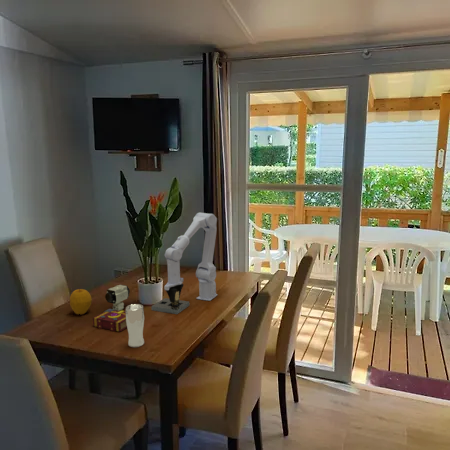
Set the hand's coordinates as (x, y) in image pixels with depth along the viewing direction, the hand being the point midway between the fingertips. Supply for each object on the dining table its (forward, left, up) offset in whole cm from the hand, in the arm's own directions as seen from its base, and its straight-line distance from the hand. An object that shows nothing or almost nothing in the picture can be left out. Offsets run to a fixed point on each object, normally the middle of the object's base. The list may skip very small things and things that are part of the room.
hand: (174, 300), depth 191 cm
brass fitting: (0, 0, -2) cm, 2 cm away
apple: (+21, -38, -4) cm, 44 cm away
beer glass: (+38, +5, -4) cm, 39 cm away
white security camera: (+11, -24, -4) cm, 27 cm away
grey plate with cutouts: (0, -2, -4) cm, 5 cm away
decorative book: (+26, -16, -5) cm, 31 cm away
